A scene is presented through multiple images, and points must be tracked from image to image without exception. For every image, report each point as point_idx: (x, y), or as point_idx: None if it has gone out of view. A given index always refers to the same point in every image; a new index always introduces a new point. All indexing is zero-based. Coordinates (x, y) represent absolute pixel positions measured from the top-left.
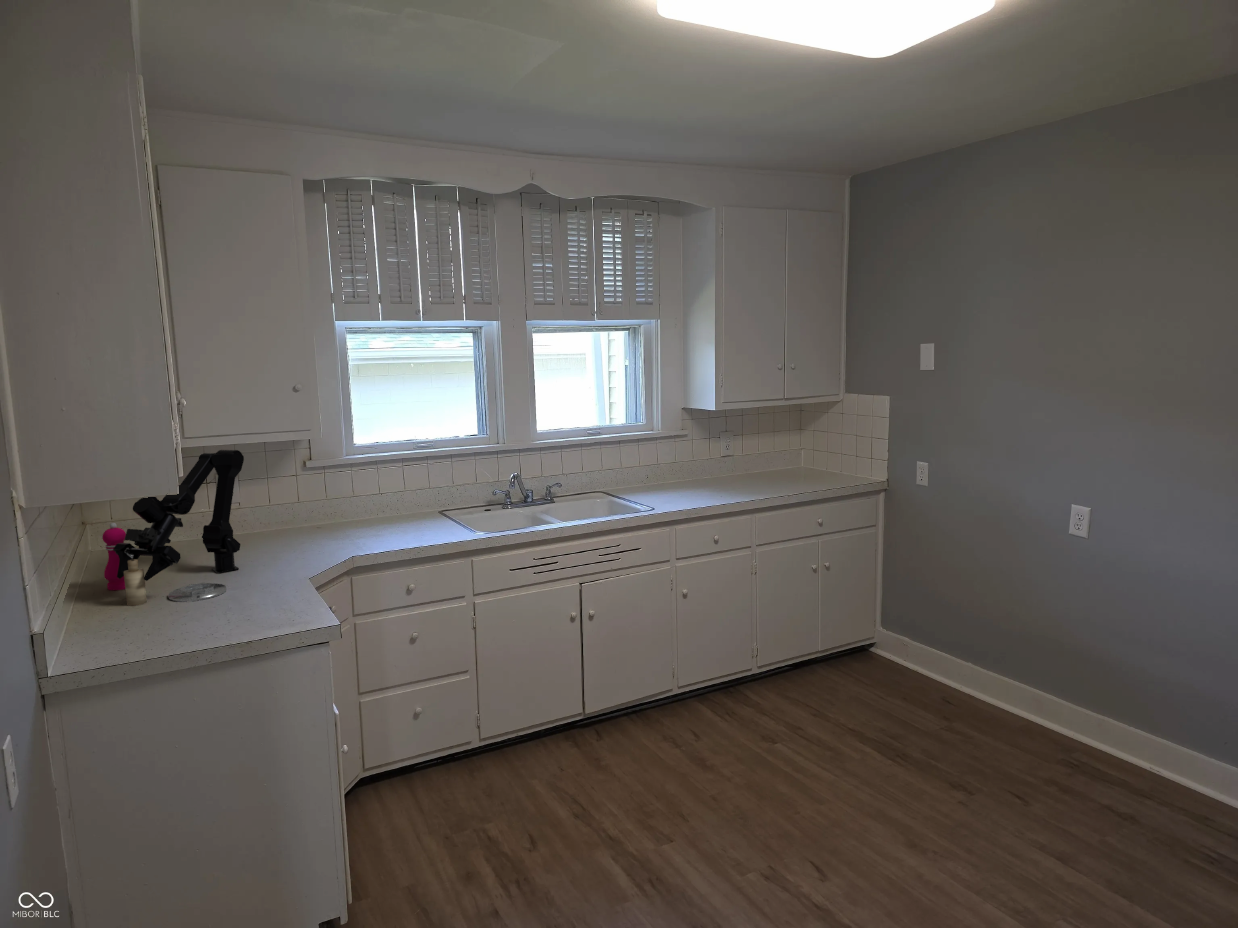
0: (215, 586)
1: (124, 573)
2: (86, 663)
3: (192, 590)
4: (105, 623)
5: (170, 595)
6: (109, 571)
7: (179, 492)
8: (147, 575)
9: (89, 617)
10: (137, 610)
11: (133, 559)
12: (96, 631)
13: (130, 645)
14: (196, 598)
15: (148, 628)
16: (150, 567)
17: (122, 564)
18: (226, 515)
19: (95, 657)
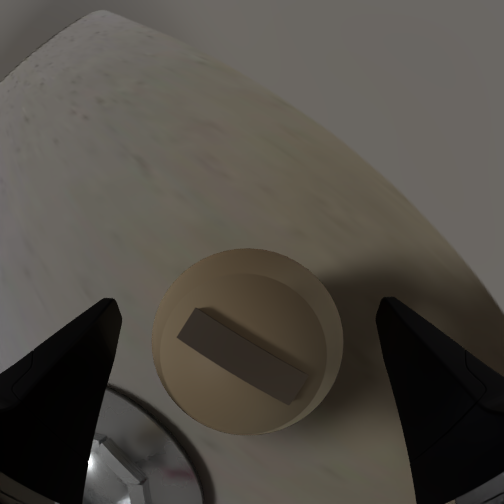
0: None
1: (280, 257)
2: (76, 30)
3: (120, 489)
4: (173, 117)
5: (149, 428)
6: None
7: None
8: (82, 315)
9: (287, 142)
10: (161, 247)
11: (233, 374)
12: (151, 78)
13: (40, 79)
14: None
15: (37, 138)
16: (44, 356)
17: (444, 367)
18: None
19: (73, 39)
